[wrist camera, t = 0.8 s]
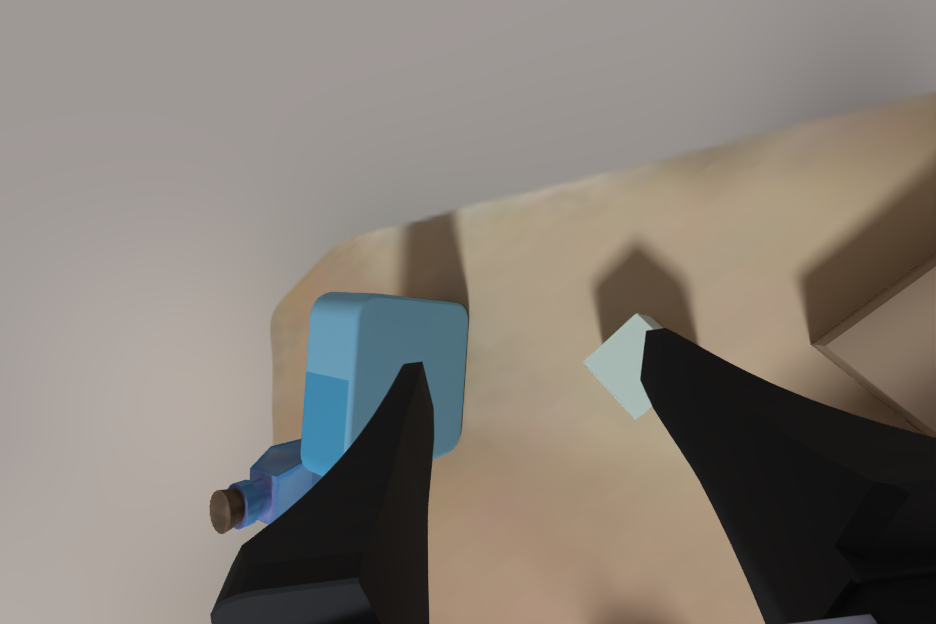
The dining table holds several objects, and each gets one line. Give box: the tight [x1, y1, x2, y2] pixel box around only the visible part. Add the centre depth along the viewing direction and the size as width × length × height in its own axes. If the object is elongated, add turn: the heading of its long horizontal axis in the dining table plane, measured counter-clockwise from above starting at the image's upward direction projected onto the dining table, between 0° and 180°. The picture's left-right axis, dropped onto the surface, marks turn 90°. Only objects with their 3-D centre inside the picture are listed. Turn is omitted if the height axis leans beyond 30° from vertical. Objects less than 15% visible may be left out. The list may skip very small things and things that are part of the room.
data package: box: [301, 292, 468, 477], centre depth 29 cm, size 12×4×12 cm, turn 176°
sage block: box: [583, 313, 663, 420], centre depth 23 cm, size 4×4×5 cm
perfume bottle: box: [210, 439, 322, 534], centre depth 35 cm, size 6×6×12 cm
